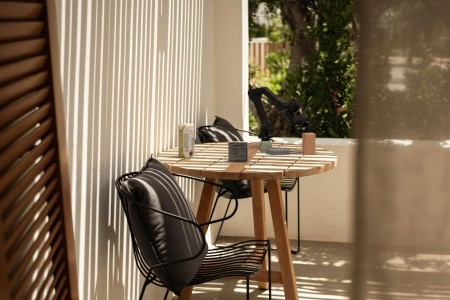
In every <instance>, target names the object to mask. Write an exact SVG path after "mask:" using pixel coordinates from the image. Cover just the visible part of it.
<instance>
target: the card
mask: <svg viewBox="0 0 450 300" xmlns="http://www.w3.org/2000/svg"><path fill="white" fill-rule="evenodd" d="M291 151H292V152H294V153H298V152H299V153H302V148H301V149H298V148H297V149H291Z"/></svg>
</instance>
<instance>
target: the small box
mask: <svg viewBox="0 0 450 300" xmlns="http://www.w3.org/2000/svg"><path fill="white" fill-rule="evenodd" d="M227 145H228V146H227V148H228V149H227V150H228V154H227V155H228V158H227V159H228V160H227V163H228V162H229V163H230V162H232V163H233V162H234V163H235V162H237V163H239V162H242V163H243V162H244V163H246V162H248V158H249V156H248V155H249V154H248V148H249V147H248V145H249V144H248V141H229V142H228V143H227Z"/></svg>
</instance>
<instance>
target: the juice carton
mask: <svg viewBox="0 0 450 300" xmlns="http://www.w3.org/2000/svg"><path fill="white" fill-rule="evenodd" d="M177 125H178V126H177V130H178V133H177V135H178V136H177V140H178V142H177V146H178V148H177V149H178V150H177V152H178V154H177V155H178V157H179V158H184V159H186V158H193V157H192V156H194V157H195V124H194V123H188V122H186V123H179V124H177Z"/></svg>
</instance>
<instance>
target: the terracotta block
mask: <svg viewBox="0 0 450 300" xmlns="http://www.w3.org/2000/svg"><path fill="white" fill-rule="evenodd" d="M301 134H302V135H301V137H302V138H301V139H302V140H301V143H302V144H301V149H302V152H301V154H304V155H315V154H316V135H317V134H316V133H313V132H311V133H304V132H302V133H301Z"/></svg>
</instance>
